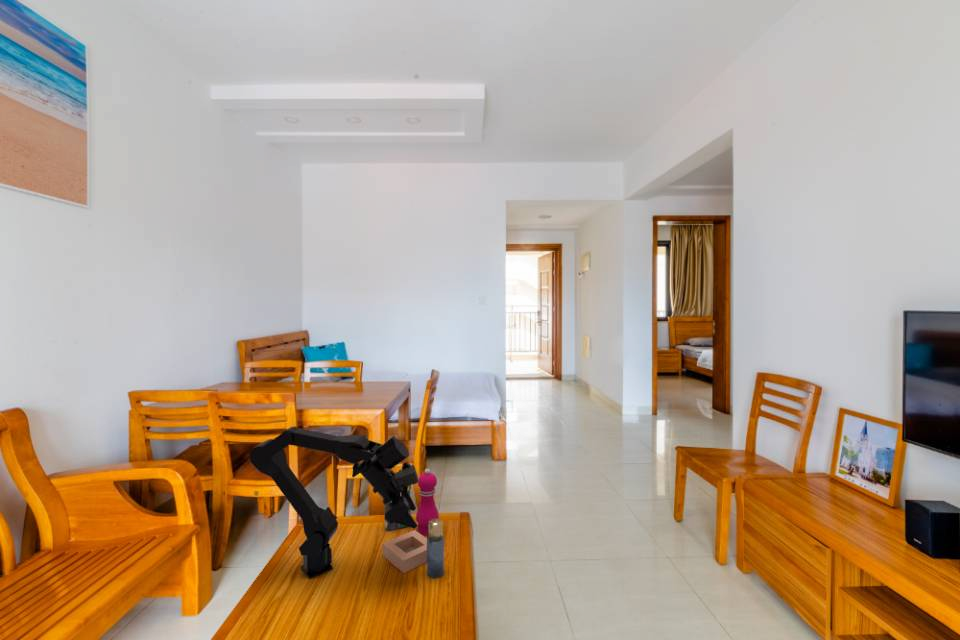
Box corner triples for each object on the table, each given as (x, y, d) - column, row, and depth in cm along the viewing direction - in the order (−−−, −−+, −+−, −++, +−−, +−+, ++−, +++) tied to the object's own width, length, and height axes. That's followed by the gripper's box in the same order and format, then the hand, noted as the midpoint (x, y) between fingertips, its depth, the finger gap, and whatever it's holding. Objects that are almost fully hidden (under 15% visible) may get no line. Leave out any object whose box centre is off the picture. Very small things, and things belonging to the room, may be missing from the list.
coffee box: (385, 531, 138) (385, 491, 138) (384, 527, 141) (384, 487, 140) (410, 527, 141) (410, 487, 141) (409, 522, 144) (408, 483, 143)
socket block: (403, 573, 118) (403, 560, 117) (382, 555, 126) (382, 543, 126) (436, 557, 125) (436, 545, 125) (414, 541, 133) (414, 529, 133)
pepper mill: (440, 525, 143) (440, 464, 142) (436, 537, 135) (436, 473, 134) (418, 523, 143) (418, 463, 142) (413, 535, 136) (413, 472, 135)
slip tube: (433, 580, 115) (433, 528, 114) (423, 572, 118) (423, 521, 117) (447, 573, 118) (447, 522, 117) (437, 565, 121) (437, 516, 120)
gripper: (403, 472, 109) (441, 516, 112) (402, 445, 127) (435, 483, 130) (367, 501, 108) (407, 545, 111) (371, 470, 126) (405, 508, 129)
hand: (415, 518), depth 120 cm, fingers open, 9 cm apart
